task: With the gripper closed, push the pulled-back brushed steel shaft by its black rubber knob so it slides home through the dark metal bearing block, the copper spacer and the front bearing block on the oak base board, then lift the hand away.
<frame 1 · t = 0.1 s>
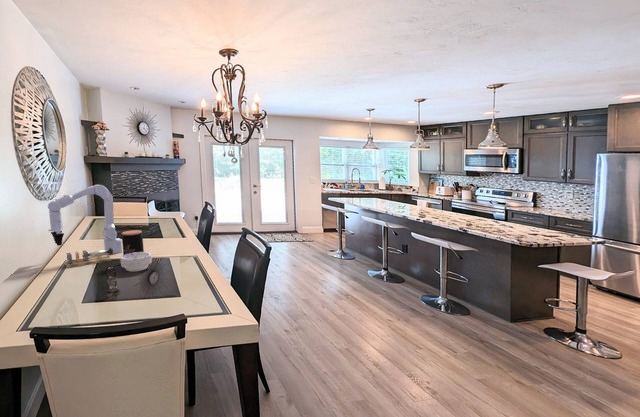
hand: (58, 244, 234), 10 cm above the table, tool pointing down, fingers open, 7 cm apart
coffee jar: (134, 262, 228), on the table
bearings: (77, 256, 227), on the base board, point 4 cm above the table
paper bowls: (137, 269, 214), on the table
shaft: (97, 253, 233), point 4 cm above the table, slide at 0.0 cm
base board: (88, 262, 230), on the table
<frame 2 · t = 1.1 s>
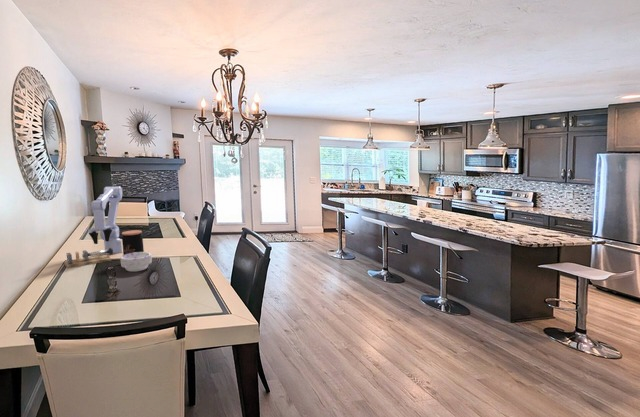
hand: (101, 242, 239), 10 cm above the table, tool pointing down, fingers open, 7 cm apart
nothing on the table moved.
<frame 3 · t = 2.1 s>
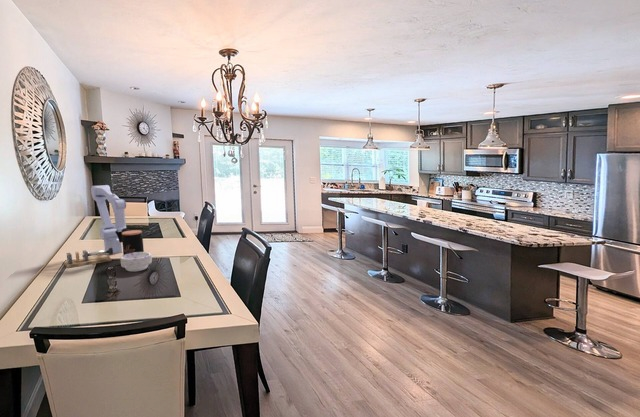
hand: (122, 241, 241), 9 cm above the table, tool pointing down, fingers open, 3 cm apart
nothing on the table moved.
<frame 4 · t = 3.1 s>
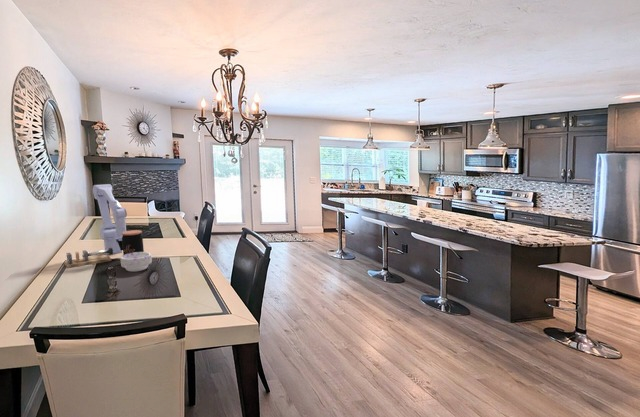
hand: (122, 250, 242), 4 cm above the table, tool pointing down, fingers closed
nothing on the table moved.
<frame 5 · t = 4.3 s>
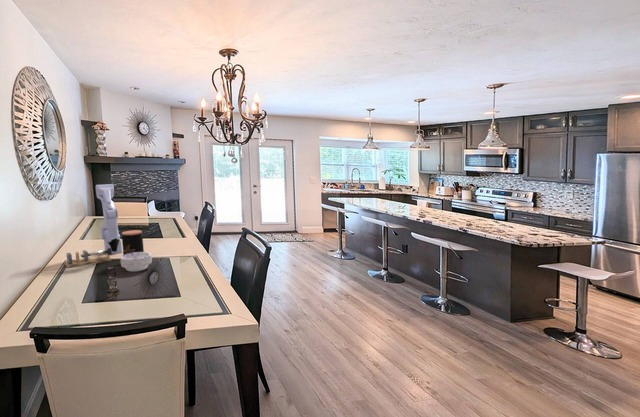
hand: (114, 251, 239), 4 cm above the table, tool pointing down, fingers closed
shaft: (96, 253, 233), point 5 cm above the table, slide at 0.7 cm, touching gripper
everything else where it was.
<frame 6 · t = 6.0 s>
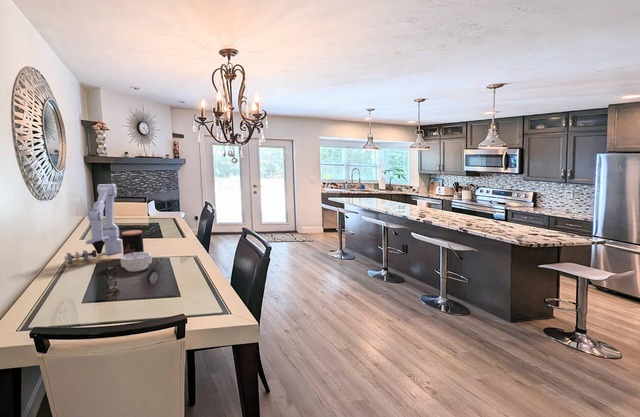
hand: (99, 253, 234), 4 cm above the table, tool pointing down, fingers closed
shaft: (80, 255, 228), point 5 cm above the table, slide at 8.8 cm, touching gripper
everything else where it was.
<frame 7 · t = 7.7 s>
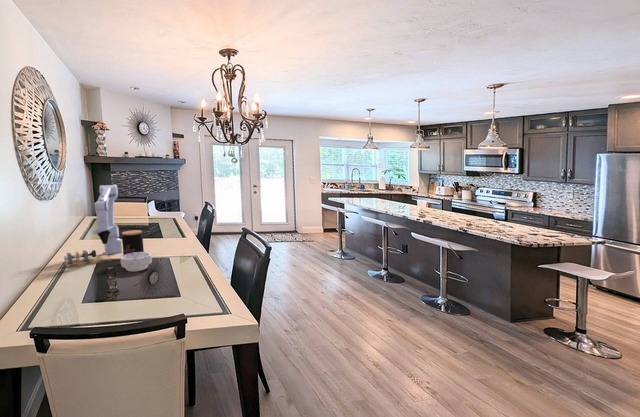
hand: (104, 243, 237), 9 cm above the table, tool pointing down, fingers closed
shaft: (80, 255, 228), point 5 cm above the table, slide at 8.9 cm
everything else where it was.
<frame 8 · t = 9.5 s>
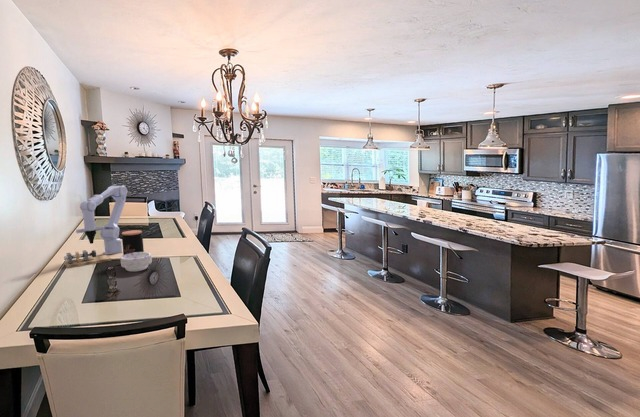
hand: (91, 243, 238), 9 cm above the table, tool pointing down, fingers closed
nothing on the table moved.
at the end: shaft slide at 8.9 cm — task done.
